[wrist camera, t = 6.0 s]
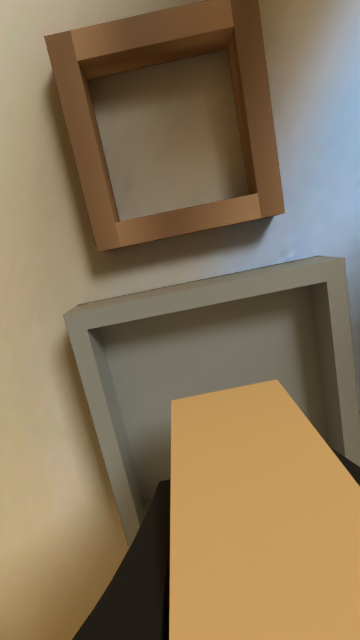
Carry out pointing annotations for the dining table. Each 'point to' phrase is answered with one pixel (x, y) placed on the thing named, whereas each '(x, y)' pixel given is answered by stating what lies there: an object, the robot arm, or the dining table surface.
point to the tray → (213, 362)
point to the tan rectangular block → (259, 522)
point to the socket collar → (154, 48)
